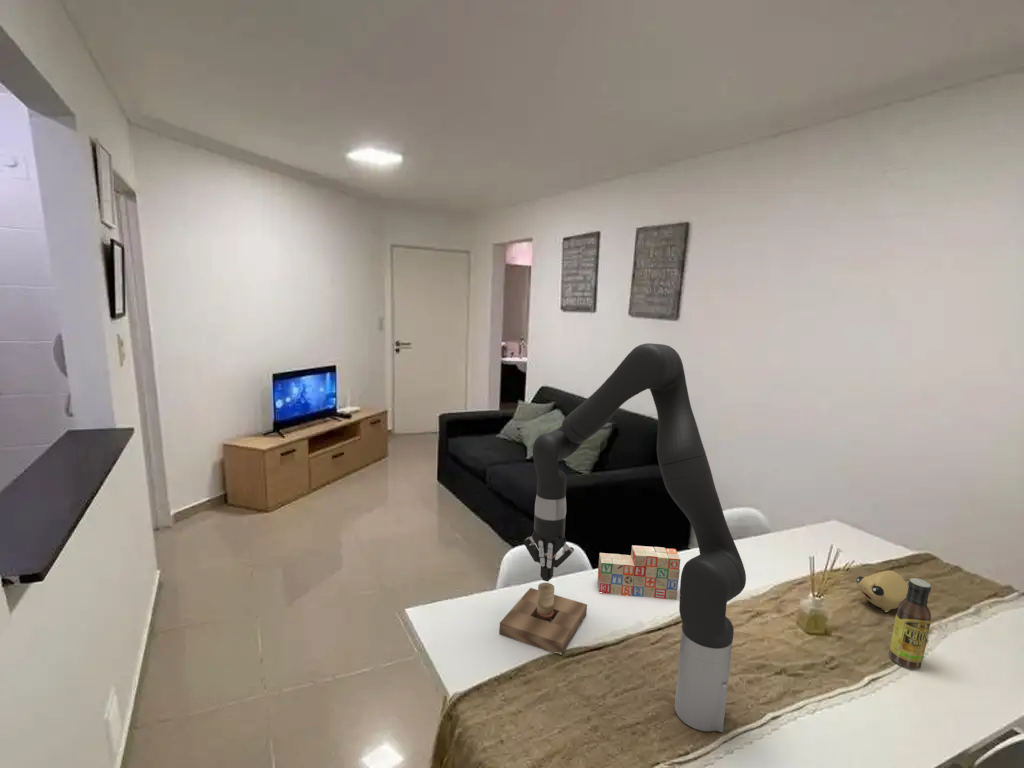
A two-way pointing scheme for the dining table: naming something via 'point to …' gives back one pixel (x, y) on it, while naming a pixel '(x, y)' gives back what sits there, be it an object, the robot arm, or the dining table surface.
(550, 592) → the peg
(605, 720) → the dining table surface
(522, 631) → the board
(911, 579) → the sauce bottle
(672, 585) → the stack of blocks
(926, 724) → the dining table surface
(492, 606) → the dining table surface
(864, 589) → the tan toy head
